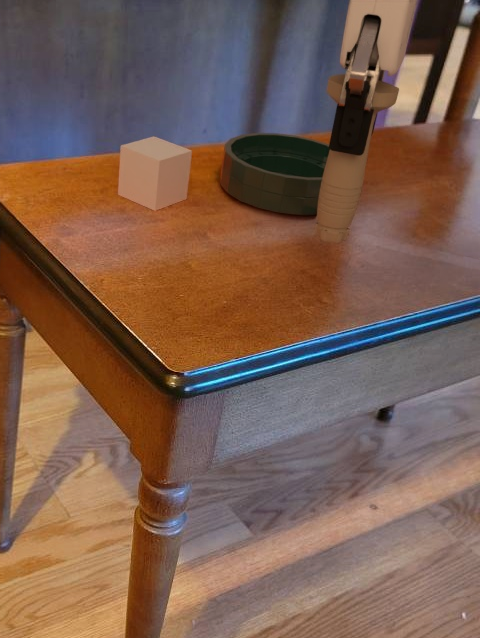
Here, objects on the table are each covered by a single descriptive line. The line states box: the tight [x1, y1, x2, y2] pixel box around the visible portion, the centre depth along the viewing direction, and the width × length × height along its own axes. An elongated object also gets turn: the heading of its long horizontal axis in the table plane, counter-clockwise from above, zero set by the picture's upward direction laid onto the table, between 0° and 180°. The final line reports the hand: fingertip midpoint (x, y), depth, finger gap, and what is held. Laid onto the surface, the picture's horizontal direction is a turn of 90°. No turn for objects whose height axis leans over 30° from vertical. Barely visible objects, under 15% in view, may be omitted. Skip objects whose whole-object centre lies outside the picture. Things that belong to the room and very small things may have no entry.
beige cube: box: [117, 136, 193, 212], centre depth 89 cm, size 6×6×6 cm
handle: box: [314, 73, 400, 245], centre depth 71 cm, size 5×6×15 cm
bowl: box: [219, 132, 330, 216], centre depth 95 cm, size 17×17×5 cm
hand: (351, 141), depth 70 cm, fingers closed on handle, 5 cm apart
